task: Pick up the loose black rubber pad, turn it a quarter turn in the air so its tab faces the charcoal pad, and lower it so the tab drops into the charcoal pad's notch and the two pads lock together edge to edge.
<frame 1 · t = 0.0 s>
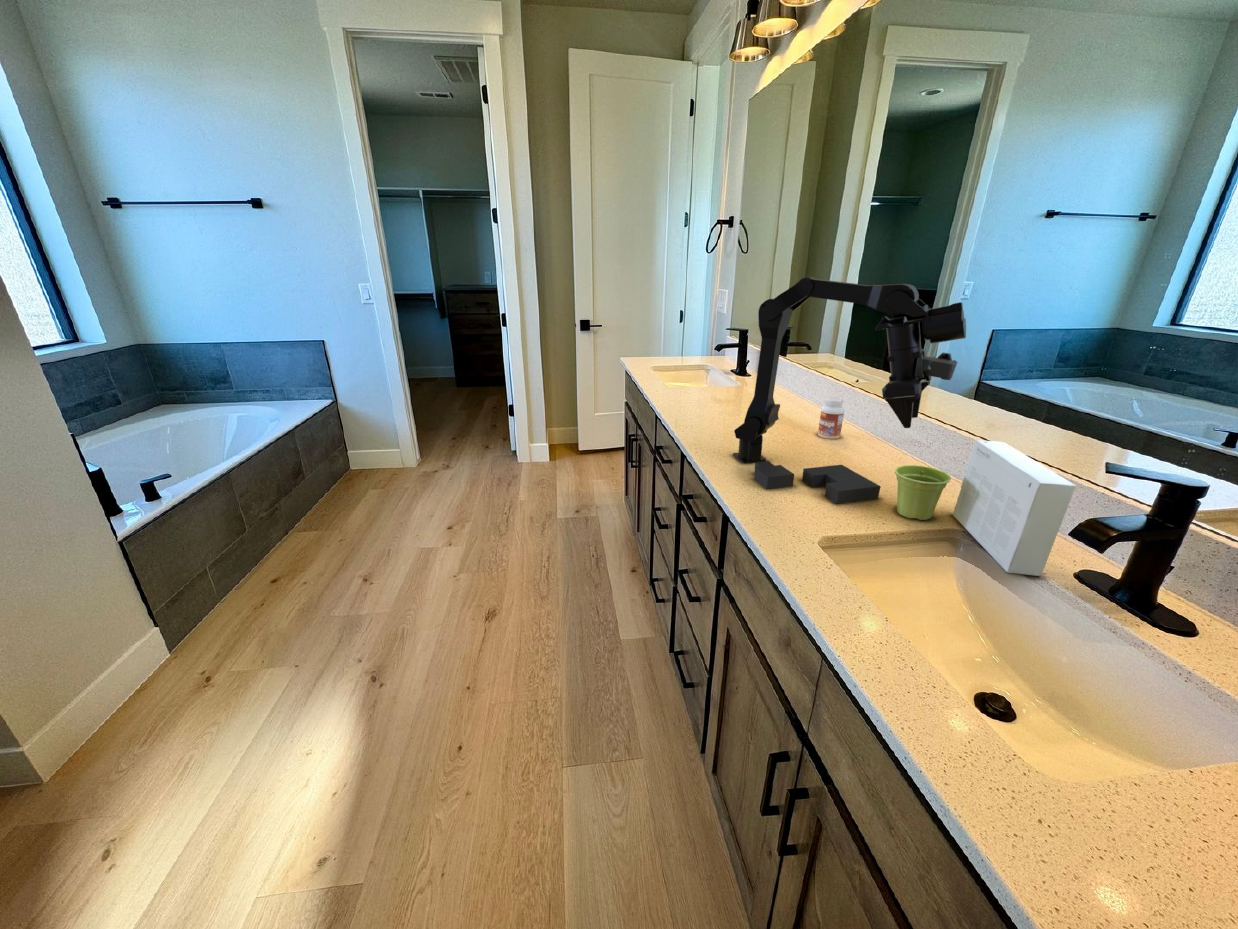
hand: (911, 422, 103), 15 cm above the worktop, tool pointing down, fingers open, 9 cm apart
black pad: (773, 482, 113), on the worktop
plant pot: (913, 514, 98), on the worktop
skincare box: (993, 543, 87), on the worktop
pill bottle: (828, 436, 145), on the worktop
charcoal pad: (838, 489, 109), on the worktop
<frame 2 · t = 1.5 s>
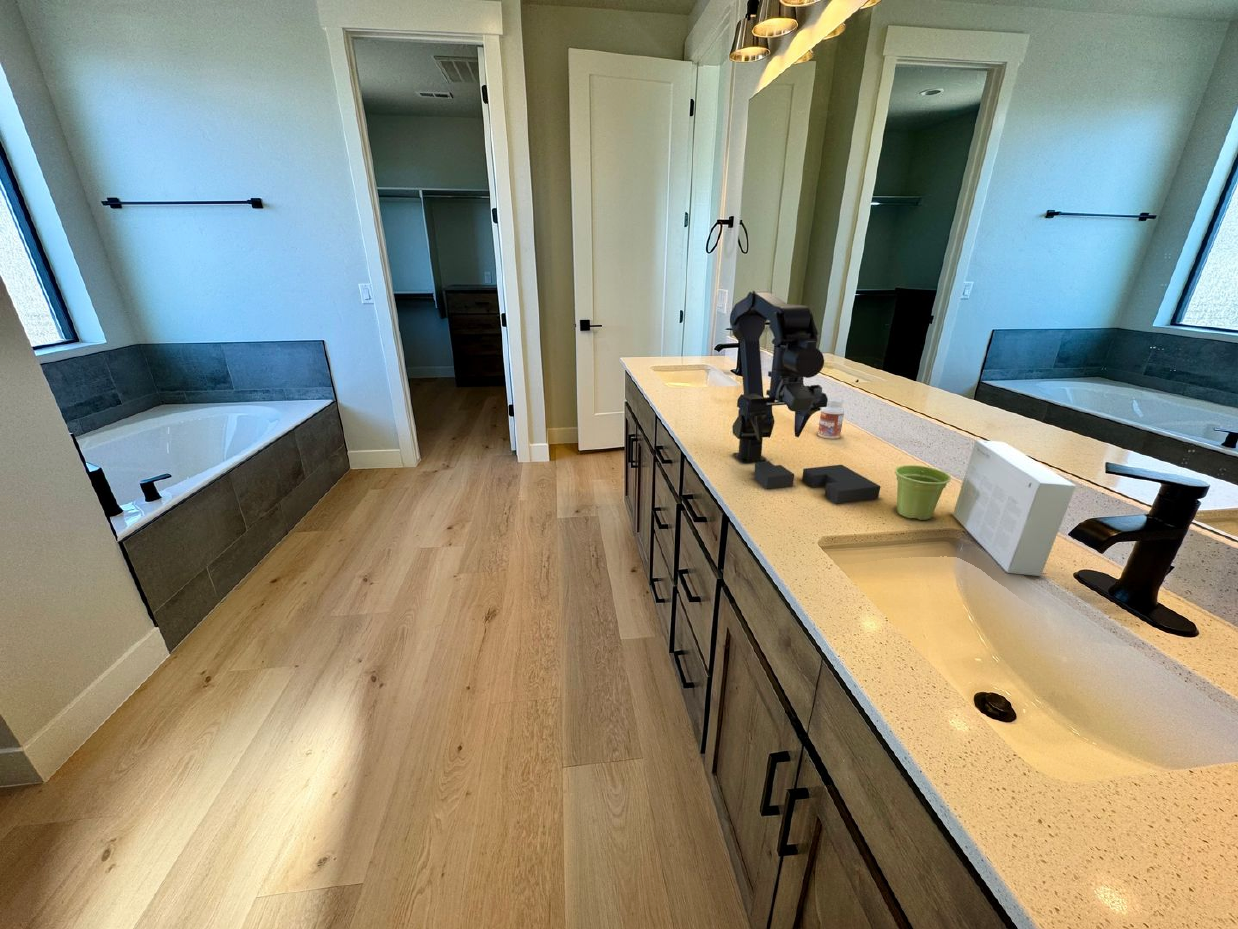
hand: (778, 438, 109), 11 cm above the worktop, tool pointing down, fingers open, 9 cm apart
nothing on the worktop moved.
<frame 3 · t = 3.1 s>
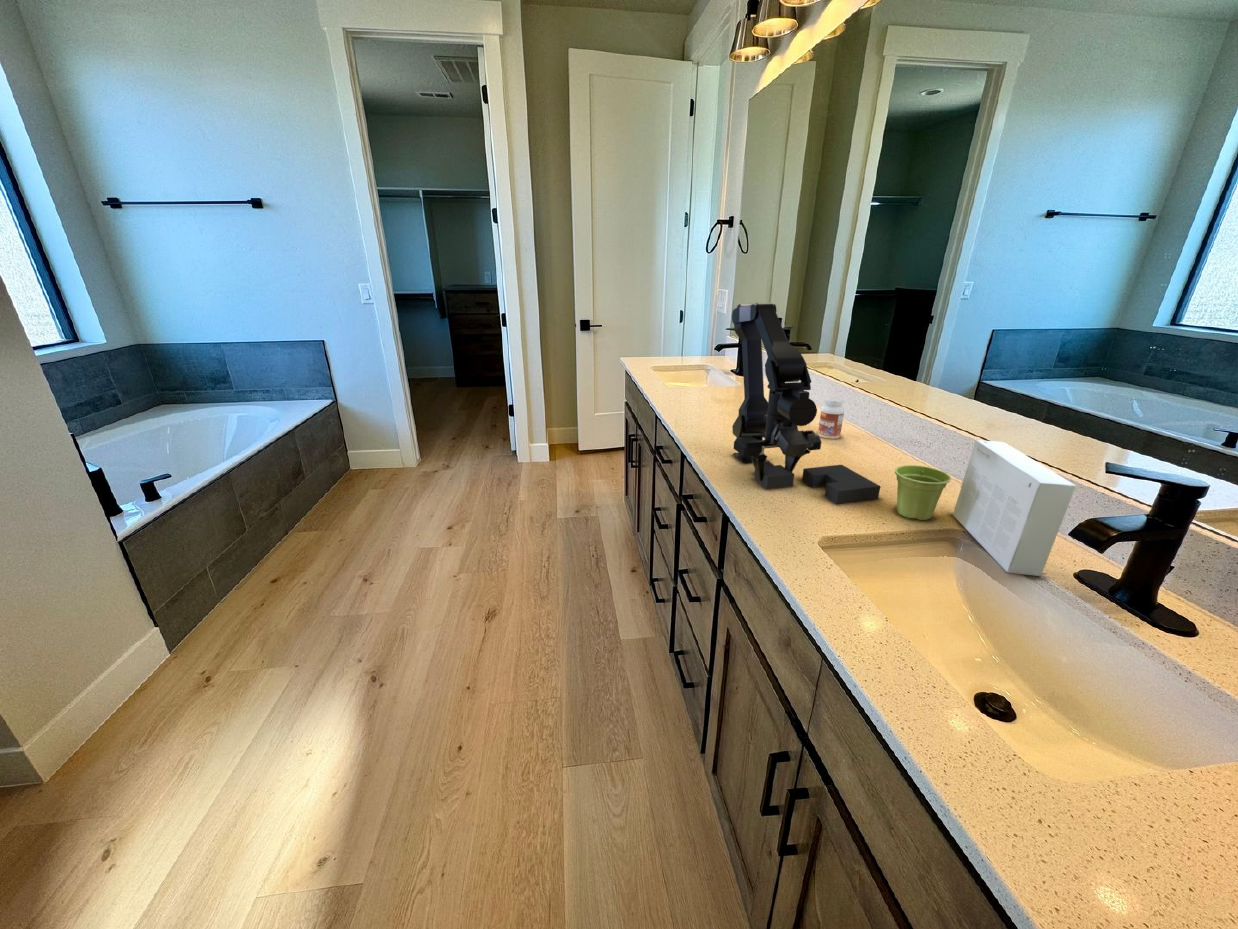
hand: (773, 478, 113), 1 cm above the worktop, tool pointing down, fingers closed on black pad, 6 cm apart
black pad: (773, 482, 113), on the worktop, touching gripper
everything else where it was.
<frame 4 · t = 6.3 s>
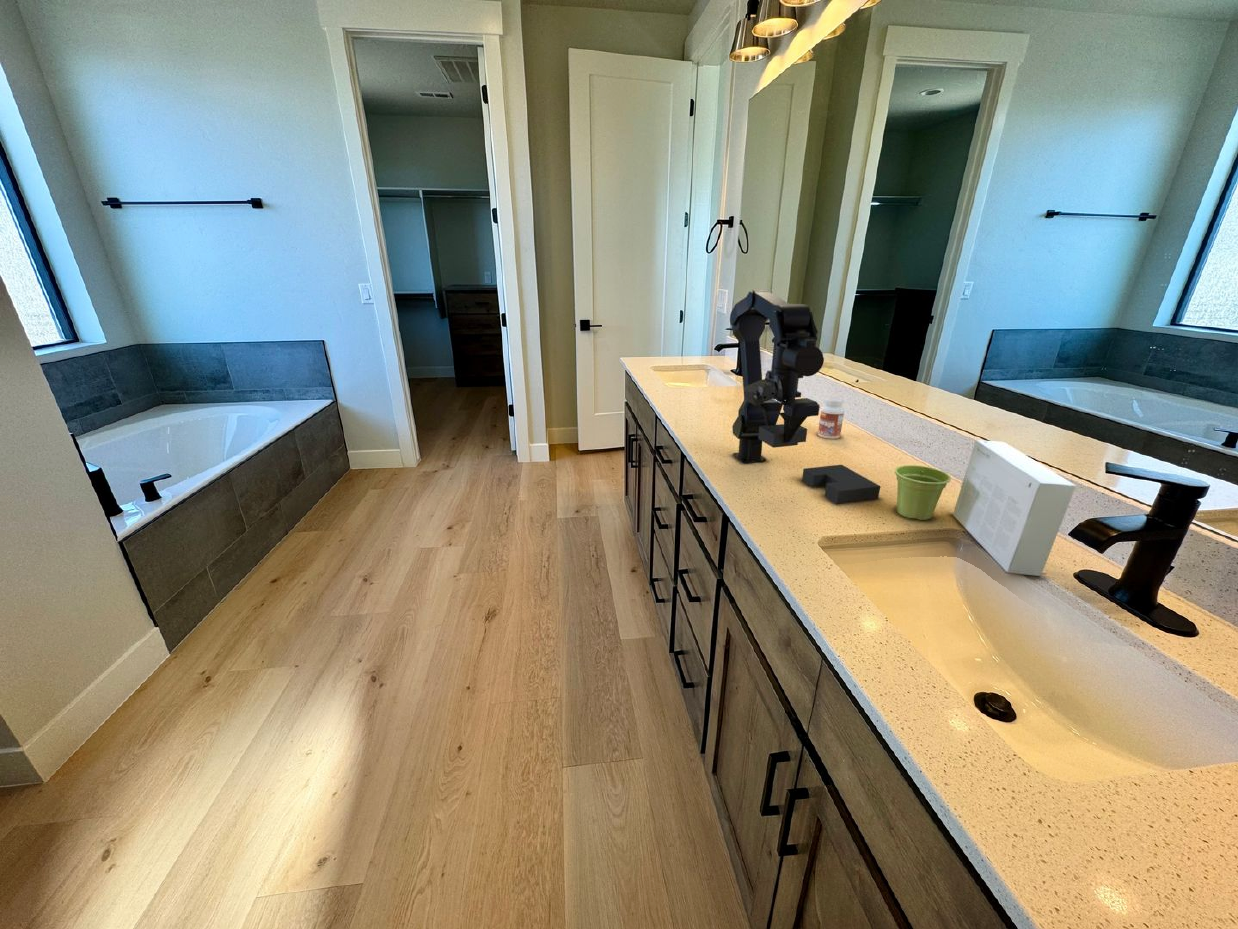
hand: (778, 437, 109), 11 cm above the worktop, tool pointing down, fingers closed on black pad, 6 cm apart
black pad: (777, 441, 110), point 10 cm above the worktop, touching gripper
everything else where it was.
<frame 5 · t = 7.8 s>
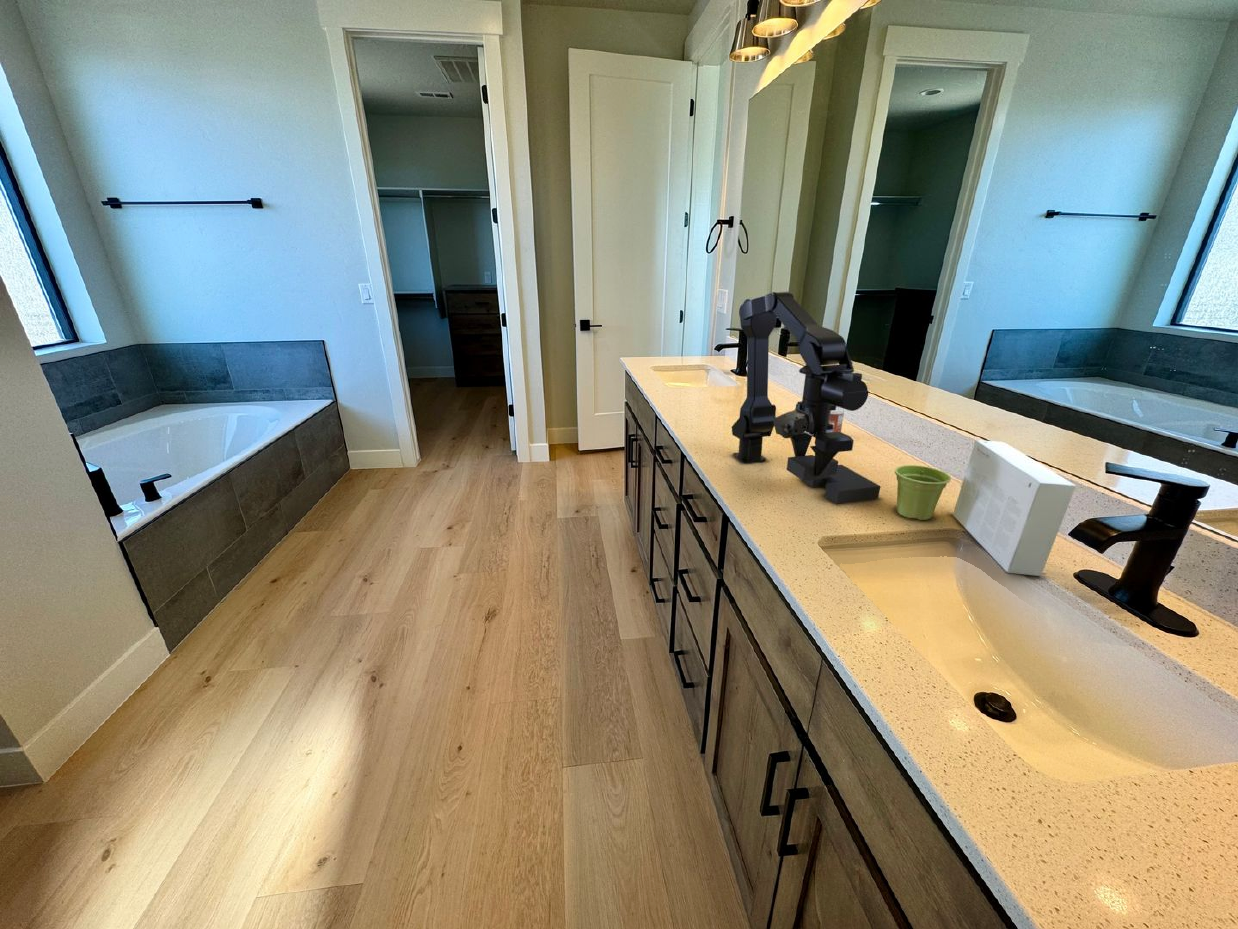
hand: (807, 469, 106), 6 cm above the worktop, tool pointing down, fingers closed on black pad, 6 cm apart
black pad: (806, 473, 106), point 5 cm above the worktop, touching gripper
everything else where it was.
when the fingers open (1 cm above the worktop, at t = 9.4 s): black pad stays where it is, on the worktop.
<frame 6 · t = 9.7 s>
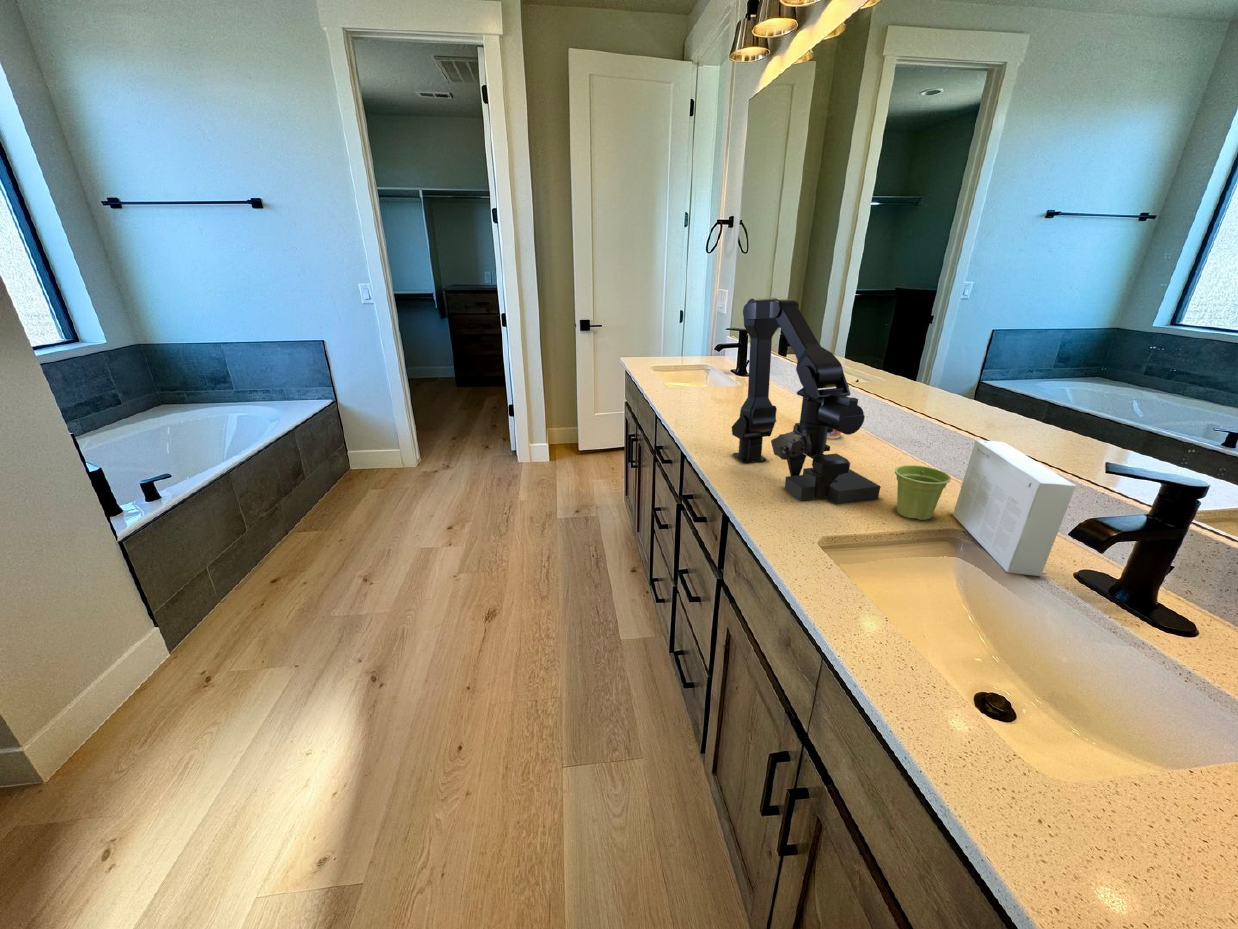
hand: (805, 489, 107), 1 cm above the worktop, tool pointing down, fingers open, 9 cm apart
black pad: (804, 493, 108), on the worktop
everything else where it was.
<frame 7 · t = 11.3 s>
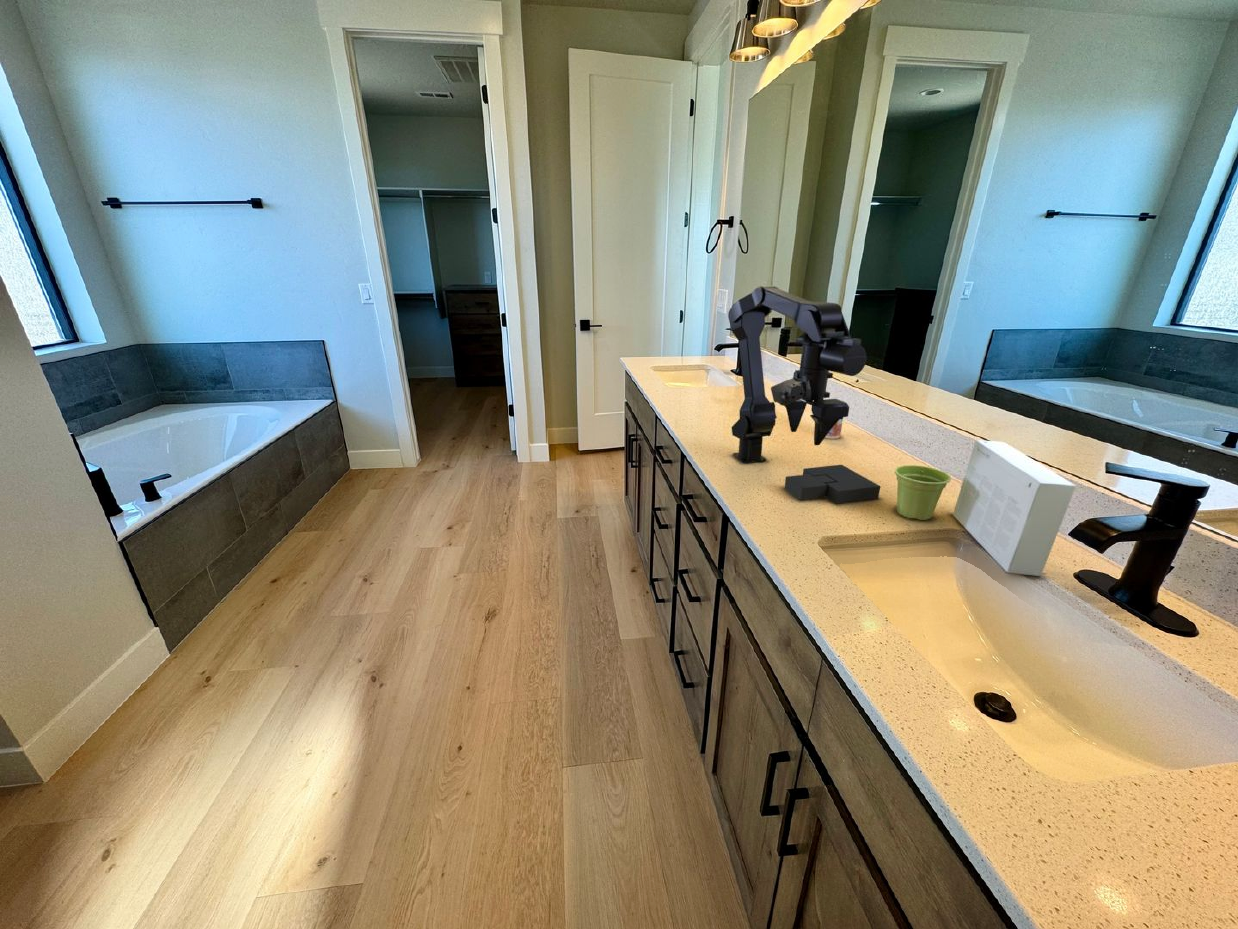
hand: (804, 438, 108), 11 cm above the worktop, tool pointing down, fingers open, 9 cm apart
nothing on the worktop moved.
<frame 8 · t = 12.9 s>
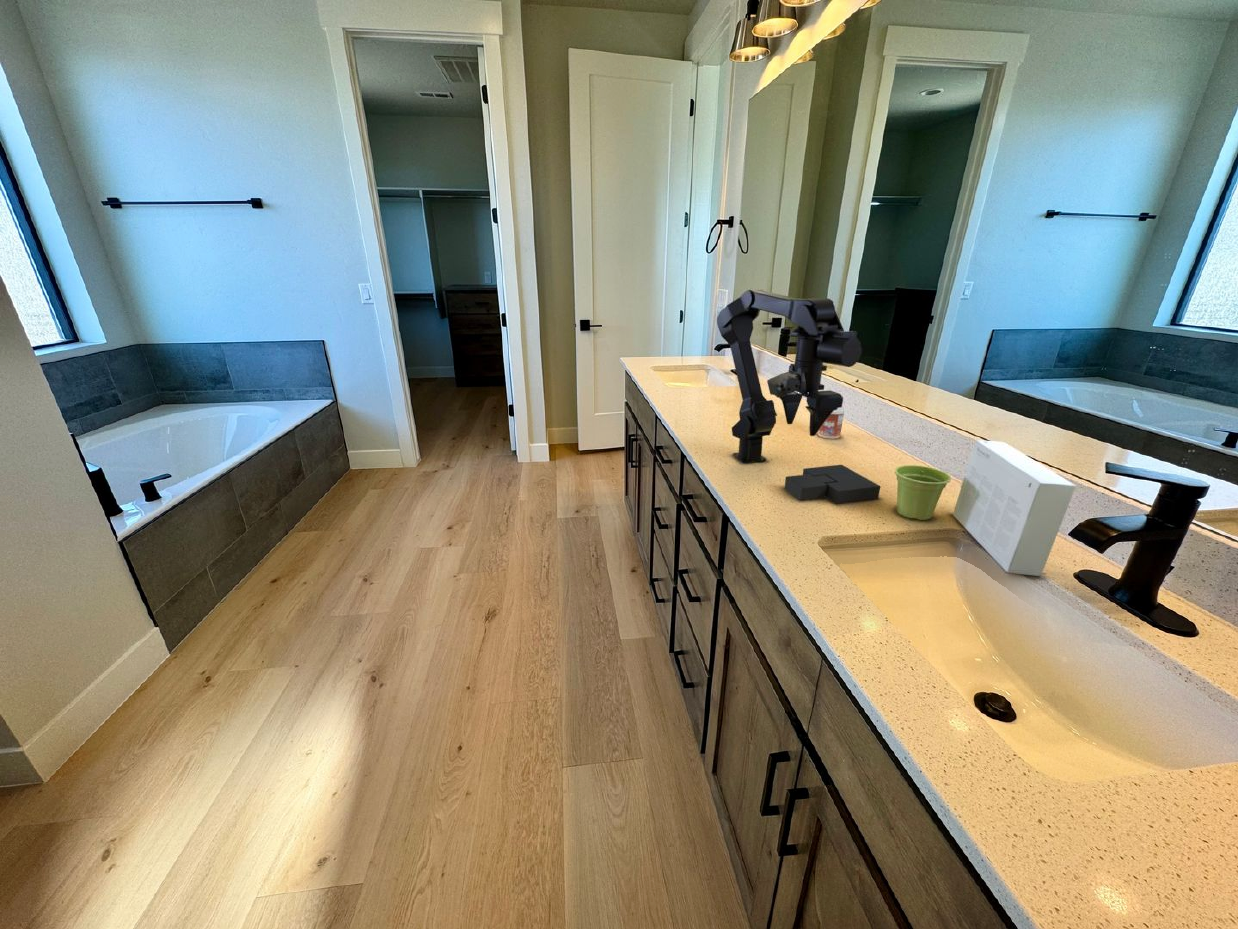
hand: (800, 429, 111), 12 cm above the worktop, tool pointing down, fingers open, 9 cm apart
nothing on the worktop moved.
at the end: black pad 0.1 cm from the target spot on the worktop beside the charcoal pad, on the worktop; black pad tilted 0°; the gripper is holding nothing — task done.
